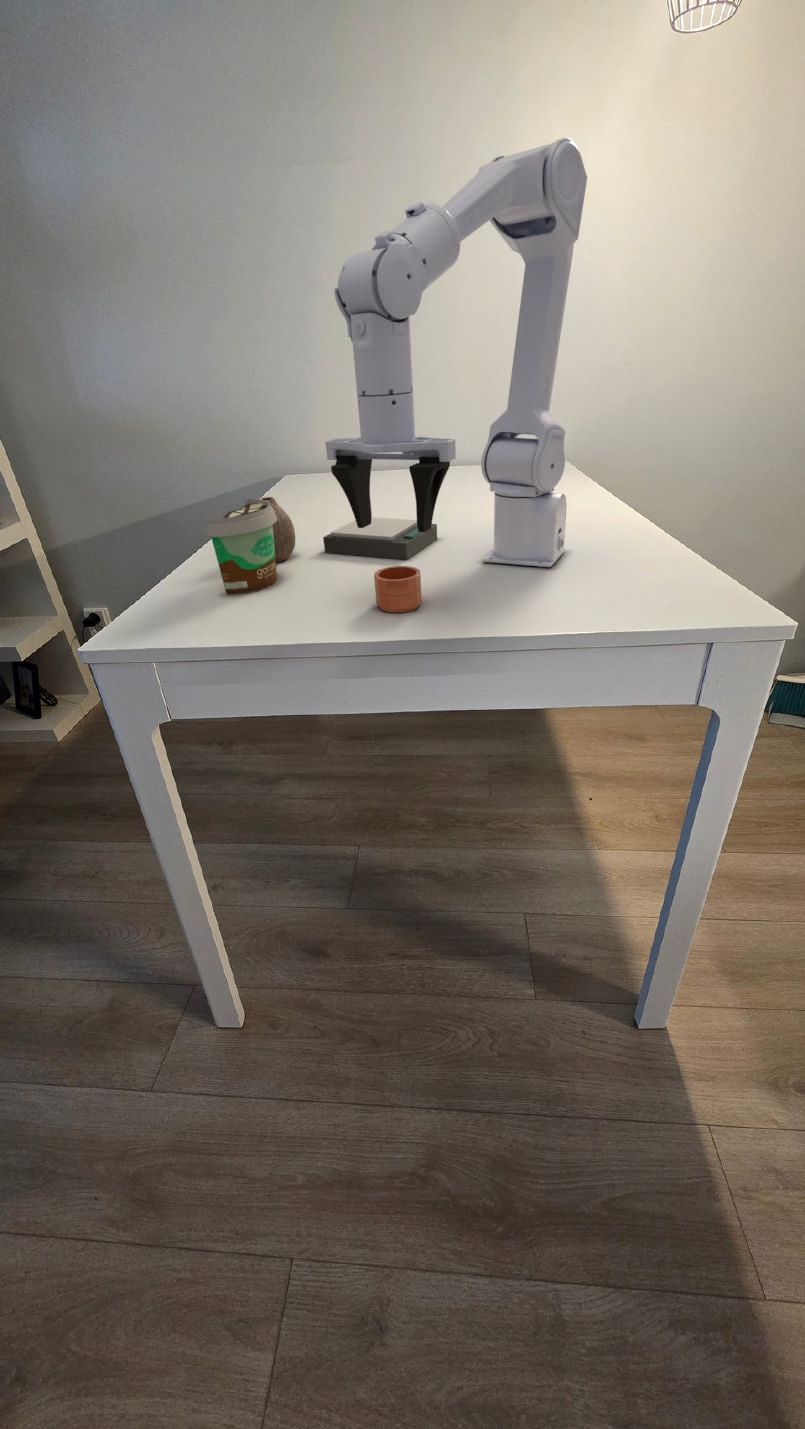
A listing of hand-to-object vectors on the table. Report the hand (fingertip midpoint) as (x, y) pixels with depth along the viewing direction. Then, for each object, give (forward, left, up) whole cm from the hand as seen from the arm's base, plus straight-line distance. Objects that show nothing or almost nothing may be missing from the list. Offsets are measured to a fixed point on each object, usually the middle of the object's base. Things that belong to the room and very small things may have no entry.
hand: (394, 527), depth 72 cm
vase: (+27, -12, -9) cm, 31 cm away
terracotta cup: (0, 0, -9) cm, 9 cm away
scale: (+14, -22, -9) cm, 28 cm away
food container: (+22, -2, -9) cm, 24 cm away
